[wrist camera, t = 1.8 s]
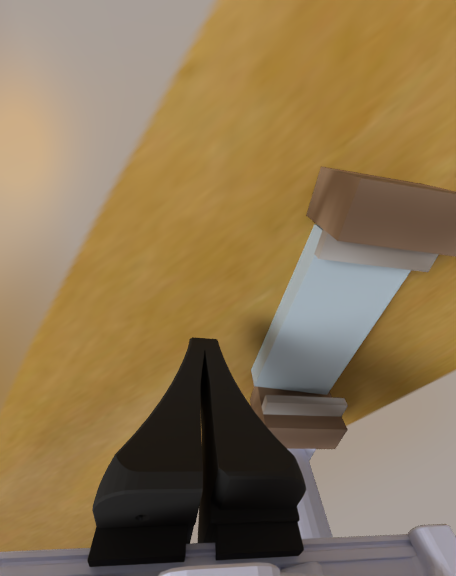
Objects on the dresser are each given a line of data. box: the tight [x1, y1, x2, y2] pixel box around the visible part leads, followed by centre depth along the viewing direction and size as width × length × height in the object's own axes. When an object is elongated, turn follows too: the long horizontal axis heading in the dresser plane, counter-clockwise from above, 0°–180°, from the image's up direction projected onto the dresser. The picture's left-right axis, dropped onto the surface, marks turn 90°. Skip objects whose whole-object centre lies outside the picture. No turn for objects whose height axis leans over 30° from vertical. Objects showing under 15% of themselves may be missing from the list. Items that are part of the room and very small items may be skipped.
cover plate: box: [251, 224, 411, 395], centre depth 18 cm, size 12×6×2 cm, turn 165°
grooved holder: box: [250, 167, 456, 449], centre depth 17 cm, size 18×6×4 cm, turn 171°
